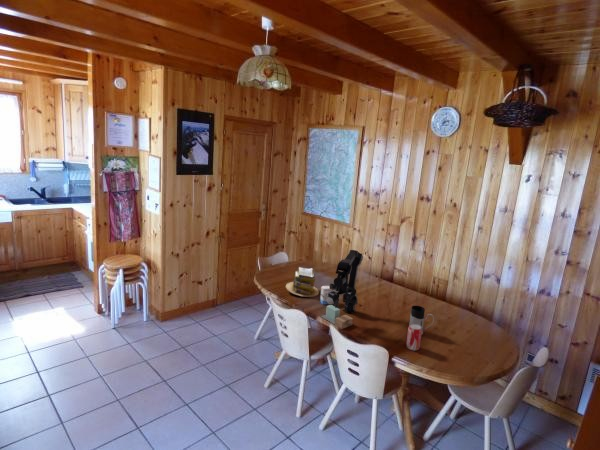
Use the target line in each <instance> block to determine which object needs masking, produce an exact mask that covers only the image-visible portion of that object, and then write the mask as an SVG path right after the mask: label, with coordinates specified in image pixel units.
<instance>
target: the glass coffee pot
mask: <svg viewBox="0 0 600 450" xmlns="http://www.w3.org/2000/svg"><path fill="white" fill-rule="evenodd" d="M425 311H426V308H424V306H421V305H412V306H411V310H410V316H409V325H408V327H409V326H410V324H418V325H420V326H421V329H422V333H421V336H422V335H423V334H424V332H423V331H424V330H426V329H428V328H431V326H433V324H434V322H435V316H434V315H433V314H432V313H428V314H427V315H426V317H425ZM428 316H432V319H433V320H432V323H430V325H428V326H426V327H424V323H425V321H426V320H427V318H428Z"/></svg>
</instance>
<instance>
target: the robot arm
mask: <svg viewBox="0 0 600 450" xmlns="http://www.w3.org/2000/svg"><path fill="white" fill-rule="evenodd" d="M363 260H364V255H363V253H360V252H359V250H355V249H350V250H349V251H348V254H347V255H346V257H345V258H344V259H341V260H340V261H339V262H338V263H337V267H336V271H335V275H336V277H335V278H334V279H333V283H329V285H328V286H329V287H330V289H332V290H335V292H334V291H332V292H329V293H328V297H330V298H332V300H333V302H334V304H333V306H334V307H335V308H338V304H339V301H340V296H342V302H343V303H344V308H343V309H342V311H344V312H345V313H347V314H349V315H351V314H353V313H356V312H357V310H355V309H356V308H355V307H356V305H358V304H359V303H358V297H357V289H356V282H357V276H358V271H359V266H360V265H362V262H363Z"/></svg>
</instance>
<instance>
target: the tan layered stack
mask: <svg viewBox="0 0 600 450" xmlns="http://www.w3.org/2000/svg"><path fill="white" fill-rule="evenodd" d="M293 279H294V280H293V281H291V282H287V283H286V285H285V288H286V290H287V291H288V292H289V293H291V294H293V295H296V296H300V297H306V298H307V297H308V298H310V297H311V298H312V297H316V296H318V295H319V292H320V291H319V289H318V288H317V287H315V286H314V285H315V281H316V274H315V273H314V269H313V268H312V267H311V268H306V267H300V266H298V269H297V270H295V273H294V277H293Z"/></svg>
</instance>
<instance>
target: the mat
mask: <svg viewBox="0 0 600 450" xmlns="http://www.w3.org/2000/svg"><path fill="white" fill-rule="evenodd" d="M320 317H321V318H322V317H323V318H322V319H324V320H326V321H327V320H328V322H329V321H330V322H329V323H331V324H332V323H333V325H334V324H335V321H333V320H331V319H330V318H328V317H326V314H324V315H321V316H320Z"/></svg>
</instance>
